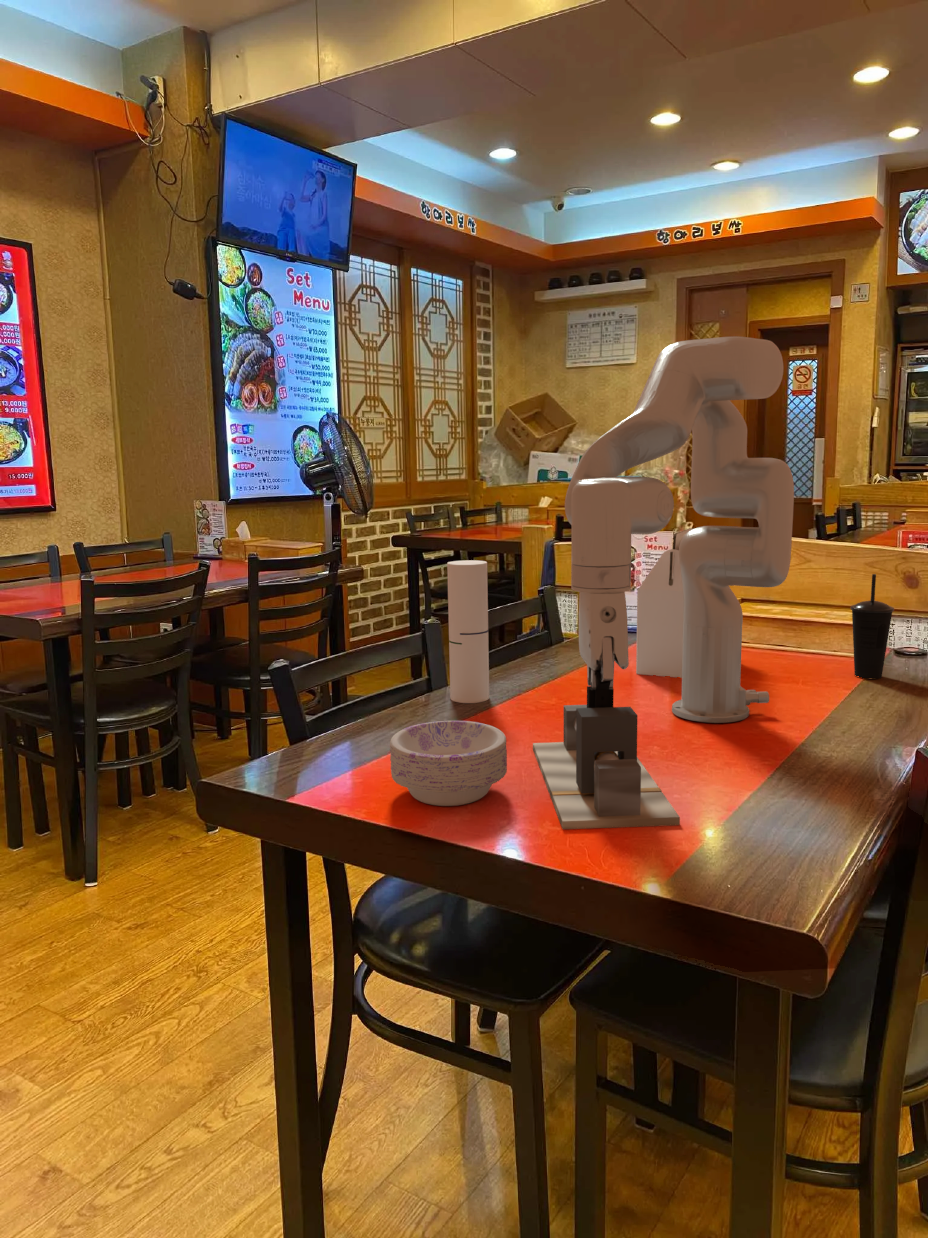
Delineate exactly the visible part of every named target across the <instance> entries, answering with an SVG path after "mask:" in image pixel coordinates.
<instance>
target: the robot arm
mask: <svg viewBox="0 0 928 1238" xmlns="http://www.w3.org/2000/svg"><path fill="white" fill-rule="evenodd" d="M783 360H784V359H783V356H782V353H781V351H780V349H779V347H778V346H777V344H775V343H774V342H773V341H772V340H768V339H763V338H754V337H746V336H736V335H735V336H722V337H711V338H699V339H688V340H687V339H686V340H681V341H676V342H674V343H671V344H669V345H667V346H666V347H664V349H662V350H661V351H660V352H659V354H658V356H657V358H656V359H655V362H654V364H653V367H652V368H651V371H650V373H649V375H648V377H647V380H646V382H645V383H644V387H643V389H642V392H641V394H640V397H639V398H638V401H637V402H636V403H637V404H635V408H634V410H633V412H632V414H631V415H629V416H628V417H626V418H625V419H623V420H621V421H620V422H618V423H617V424H616V425H614V426H613V427H611V429H609V430H608V431H607V432H605V433H604V434H603V435H601V436H600V437H599V438H598V439H596V440H595V441H594V442H593V443H592V444H591V445H590V446H589V447H588V448H587V449H586V450H585V451H584V453H583V454H582V456H581V457H580V460H579V461H578V463H577V465H576V467H575V470H574V472H573V474H572V476H571V479H570V482H569V485H568V487H567V490H566V495H565V500H564V512H565V516H566V519H567V521H568V523H569V524H570V525H571V556H570V557H571V559H570V560H571V565H570V566H571V571H570V572H571V581H570V582H571V590H572V591H574V592H579V599H578V648H579V655H580V657H581V659H582V660H583V661H584V663H585V664H586V669H587V670H586V671H587V672H586V673H587V674H586V675H587V677H586V678H587V679H586V680H587V686H586V705H587V708H604V707H614V695H615V694H614V690H615V689H614V680H615V679H614V678H615V673H614V672H615V664H616V665H617V666H618V667H620V669H621V670H626V669H628V667H629V664H630V663H629V661H630V660H629V635H628V634H629V633H628V632H629V630H628V629H629V628H628V627H629V626H628V610H627V609H628V607H627V600H626V592H628V591H631V590H632V589H631V587H632V586H631V585H632V535H651V534H655V533H657V532H660V531H661V530H663V529H664V528H665V527H666V526H667V525H668V524H669V523H670V520H671V519H672V516H673V513H674V508H675V502H674V496H673V493H672V491H671V489H670V487H669V486H668V485H667V484H666V483H665V482H664V481H662V480H660V479H658V478H655V477H649V476H648V477H647V476H620V475H621V474H622V473H625V472H626V471H628V470H630V469H632V468H635V467H636V466H637V467H638V466H640V465H642V464H644V463H648V462H650V461H651V462H652V461H654V460H656V459H659V458H661V457H664V456H665V455H668V454H670V453H673V452H674V451H677V450H678V449H680V448H681V447H682V446H684V445H685V444H686V443H687V441H688V439H689V438H690V435H691V433H692V436H691V437H692V445H691V447H692V451H691V469H690V471H691V473H690V475H691V477H690V500H691V505H692V509H693V510H694V511H695V512H696V513H697V514H699V515H701V516H702V517H711V518H725V519H728V518H729V519H755V520H756V521H757V522H758V526H757V527H756V526H755V527H753V526H751V527H750V526H737V525H736V526H735V525H734V526H731V525H728V526H727V525H703V526H698V527H696V528H692V530H690V531H688V532H687V533H686V534H685V535H684V536H683V538H682V540H681V542H680V545H679V563H680V570H681V576H682V583H683V599H684V612H683V657H682V678H681V699H679V700H676V701H674V702H673V703H672V705H671V712H672V714H673V715H675V716H676V717H678V718H682V719H685V720H688V721H692V722H698V723H706V724H707V723H711V724H725V723H727V724H728V723H734V722H739V721H743V720H745V719H747V718H748V717H749V716H750V707H748V706H750V705H751V704H752V703H757V704H767V703H769V702H770V693H769V692H768V690H767V691H756V689H747V690H746V689H745V688H744V687H742V686H741V674H742V671H741V669H742V668H741V667H742V643H743V642H742V640H743V638H742V637H743V617H744V615H743V609H742V605H741V603H740V601H739V599H738V597H737V596H736V594H735V593H734V592H733V590H732V589H731V586H732V587H733V586H737V587H738V586H739V587H752V588H753V587H754V588H775V587H778V586H780V585H782V584H783V583H784V582H785V580H786V579H787V577H788V575H789V570H790V567H791V558H792V541H793V539H792V538H793V525H794V524H793V521H794V505H795V501H794V500H795V486H794V485H795V484H794V477H793V474H792V470H791V468H790V466H789V465H788V464H787V463H786V461H784V460H782V459H778V458H773V457H748V447H747V446H748V426H747V423H746V421H745V419H744V416H743V415H742V414H741V413H740V411H739V409H738V408H737V406H735V404H734V403H733V402H732V401H741V400H742V401H743V400H760V399H761V400H762V399H768V398H770V397H771V396H773V395H774V394H776V392H777V390H778V389H779V387H780V385H781V384H782V383H781V382H782V380H783V375H784V361H783Z"/></svg>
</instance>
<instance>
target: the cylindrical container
mask: <svg viewBox="0 0 928 1238" xmlns="http://www.w3.org/2000/svg"><path fill="white" fill-rule="evenodd" d="M446 566H447V567H446V568H447V569H446V570H447V604H448V605H447V606H448V609H447V612H448V642H449V643H448V650H449V651H448V652H449V657H448V659H449V686H450V687H449V689H450V691H449V693H450V694H449V695H450V697H449V698H450V700H451V701H452V702H456V703H461V704H476V703H477V704H478V703H483V702H485V701H488V700H489V699H490V670H489V669H490V667H489V665H490V663H489V662H490V659H489V656H490V655H489V650H490V649H489V599H488V598H489V597H488V595H489V593H488V592H489V591H488V585H489V584H488V562H487V561H485V560H477V559H476V560H475V559H473V560H472V559H471V560H469V559H468V560H465V559H463V560H453V561H448V562H447V565H446Z"/></svg>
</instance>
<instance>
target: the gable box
mask: <svg viewBox="0 0 928 1238" xmlns="http://www.w3.org/2000/svg"><path fill="white" fill-rule="evenodd" d="M692 529H693V528H687V529H684V530H682V531H679V532H677V533H674V535H673V539H672V541H673V542H672V549H668V550H665V551H664V552H663V553H662V554H661V555H660V557H659V558H658V560H657V561H656V563H655V564H654V565H653V567H652V568H651V570H650V571H649V573H648V574H647V576H646V578H644V580H643V582H642V583H641V584H640V586H639V587H638V588H637V593H636V600H637V601H636V604H637V605H636V654H635V655H636V660H635V662H636V664H635V665H636V669H635V670H636V671H635V672H636V675H642V676H643V675H644V676H653V675H656V676H657V677H665V676H670V677H669V678H677V677H680V679H682V657H683V612H684V599H683V583H682V576H681V570H680V563H679V545H680V542H681V540H682V538H683V536H684V535H685V534H686V533H687V532H688V531H690V530H692ZM656 676H655V677H656Z"/></svg>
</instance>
